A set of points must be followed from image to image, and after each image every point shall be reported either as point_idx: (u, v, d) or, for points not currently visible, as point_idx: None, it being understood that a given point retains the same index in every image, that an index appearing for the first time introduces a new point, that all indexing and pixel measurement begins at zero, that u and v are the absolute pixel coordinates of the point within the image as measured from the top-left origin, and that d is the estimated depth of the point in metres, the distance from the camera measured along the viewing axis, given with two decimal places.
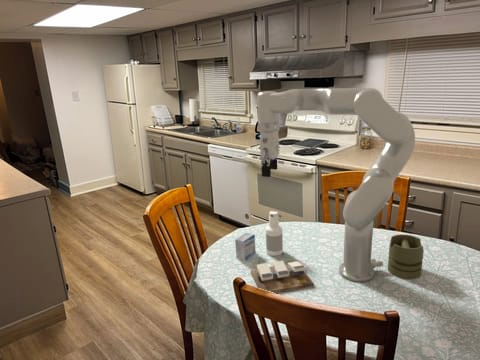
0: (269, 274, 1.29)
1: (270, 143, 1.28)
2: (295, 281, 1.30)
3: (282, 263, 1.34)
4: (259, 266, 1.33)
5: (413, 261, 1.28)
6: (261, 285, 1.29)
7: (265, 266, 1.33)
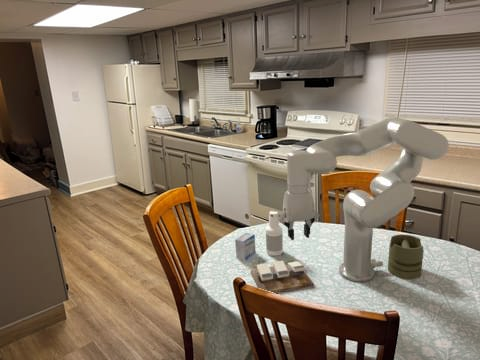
0: (269, 274, 1.29)
1: None
2: (295, 281, 1.30)
3: (282, 263, 1.34)
4: (259, 266, 1.33)
5: (413, 261, 1.28)
6: (261, 285, 1.29)
7: (265, 266, 1.33)
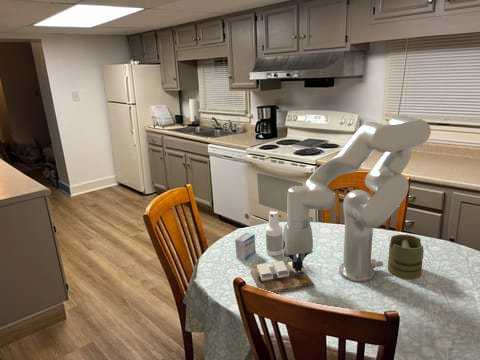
0: (269, 274, 1.29)
1: None
2: (295, 281, 1.30)
3: (282, 263, 1.34)
4: (259, 266, 1.33)
5: (413, 261, 1.28)
6: (261, 285, 1.29)
7: (265, 266, 1.33)
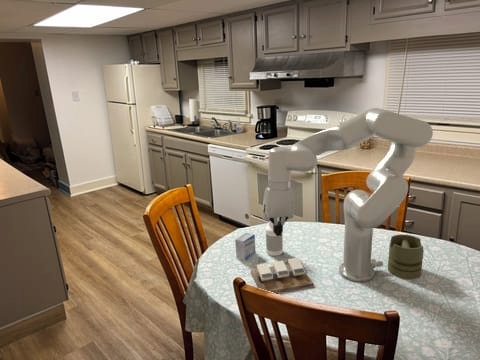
0: (269, 274, 1.29)
1: None
2: (295, 281, 1.30)
3: (282, 263, 1.34)
4: (259, 266, 1.33)
5: (413, 261, 1.28)
6: (261, 285, 1.29)
7: (265, 266, 1.33)
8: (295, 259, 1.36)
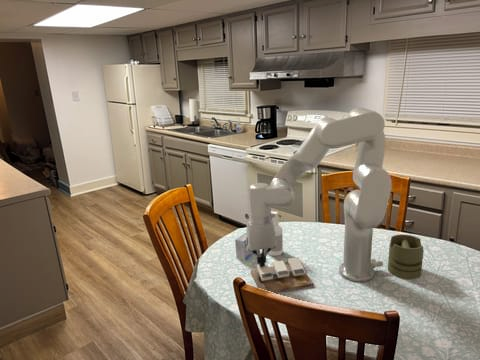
0: (269, 274, 1.29)
1: None
2: (295, 281, 1.30)
3: (282, 263, 1.34)
4: (259, 266, 1.33)
5: (413, 261, 1.28)
6: (261, 285, 1.29)
7: (265, 266, 1.33)
8: (295, 259, 1.36)
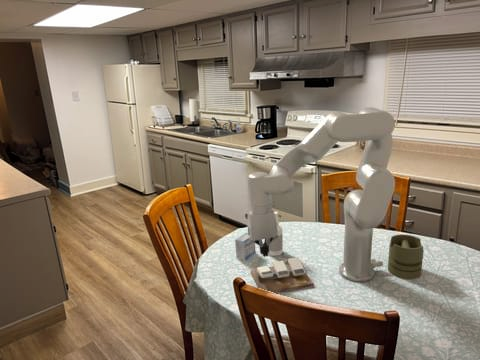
0: (269, 271, 1.29)
1: None
2: (295, 281, 1.30)
3: (282, 263, 1.34)
4: (259, 268, 1.34)
5: (413, 261, 1.28)
6: (261, 285, 1.29)
7: (265, 267, 1.34)
8: (295, 259, 1.36)
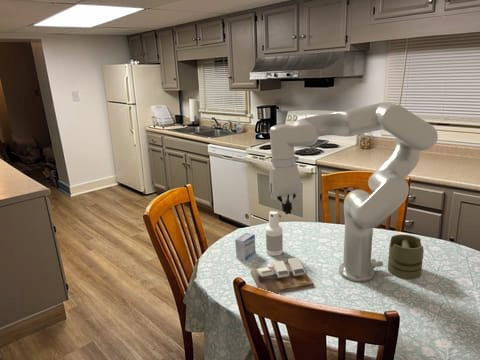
0: (269, 270, 1.29)
1: None
2: (295, 281, 1.30)
3: (282, 263, 1.34)
4: (259, 269, 1.34)
5: (413, 261, 1.28)
6: (261, 285, 1.29)
7: (265, 268, 1.34)
8: (295, 259, 1.36)
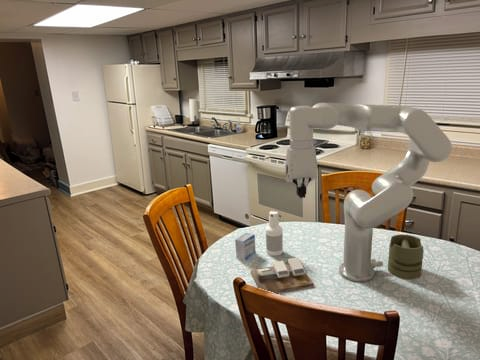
0: (268, 270, 1.29)
1: None
2: (295, 281, 1.30)
3: (282, 263, 1.34)
4: (259, 269, 1.34)
5: (413, 261, 1.28)
6: (261, 285, 1.29)
7: (265, 269, 1.34)
8: (295, 259, 1.36)
